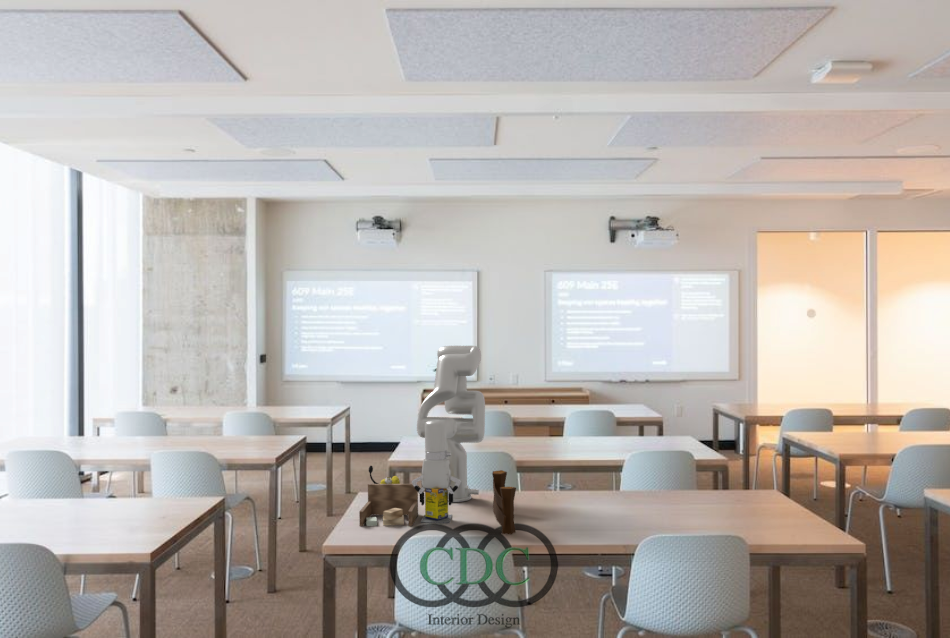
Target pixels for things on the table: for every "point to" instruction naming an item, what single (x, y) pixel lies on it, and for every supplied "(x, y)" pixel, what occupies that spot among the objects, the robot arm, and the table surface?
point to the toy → (385, 481)
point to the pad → (445, 520)
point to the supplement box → (436, 503)
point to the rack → (390, 501)
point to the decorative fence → (503, 502)
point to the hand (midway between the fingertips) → (436, 504)
